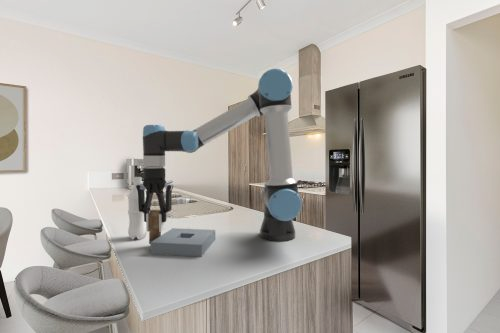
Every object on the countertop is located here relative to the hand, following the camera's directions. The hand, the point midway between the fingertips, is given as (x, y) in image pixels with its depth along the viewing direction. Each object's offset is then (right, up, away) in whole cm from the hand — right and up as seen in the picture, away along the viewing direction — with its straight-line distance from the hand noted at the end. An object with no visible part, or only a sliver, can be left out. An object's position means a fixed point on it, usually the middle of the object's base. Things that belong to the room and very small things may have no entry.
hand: (155, 230), depth 93 cm
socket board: (+11, -6, +1) cm, 13 cm away
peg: (0, -5, 0) cm, 5 cm away
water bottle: (-11, -6, +10) cm, 16 cm away
